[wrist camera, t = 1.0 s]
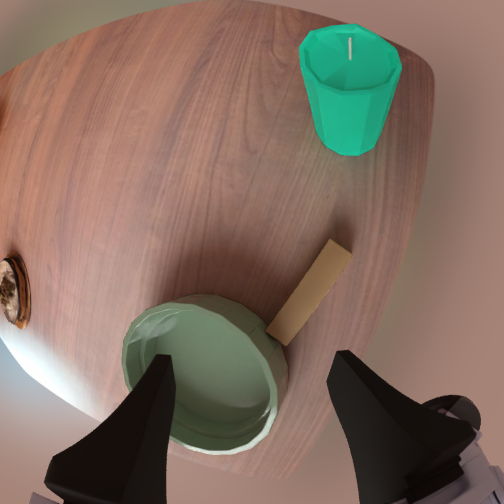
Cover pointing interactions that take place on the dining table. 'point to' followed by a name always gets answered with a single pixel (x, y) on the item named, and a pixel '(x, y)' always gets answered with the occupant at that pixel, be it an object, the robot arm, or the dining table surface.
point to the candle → (349, 85)
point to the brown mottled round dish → (15, 290)
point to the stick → (309, 292)
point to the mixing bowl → (212, 370)
